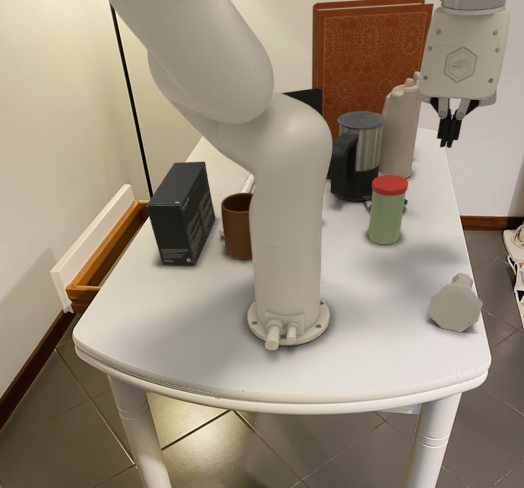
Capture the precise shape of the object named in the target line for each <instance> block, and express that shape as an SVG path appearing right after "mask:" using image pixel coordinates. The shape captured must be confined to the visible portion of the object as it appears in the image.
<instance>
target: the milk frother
mask: <svg viewBox="0 0 524 488" xmlns="http://www.w3.org/2000/svg"><path fill="white" fill-rule="evenodd" d="M385 121H386V119H385V117H384V116H383V115H381V114H378V113H373V112H368V111H366V112H365V111H357V112H350V113H346V114H343V115H341V116H340V117H339V118H338V122H339V137H338V138H337V139H336V140H335V142H334V144H333V146H332V156H331V160H330V176H329V179H330V180H329V182H330V183H329V187H330V188H329V189H330V194H331V195H333V196H337V197H339V198H340V199H344V200H347V201H352V202H353V201H354V202H355V201H356V202H357V201H359V202H360V201H361V202H362V201H368V202H371V203H372V193H373V189H372V182H373V180H374V179H375V178H377V177H378V172H379V162H380V153H381V144H382V135H383V126H384V123H385ZM408 202H409V200H408V199H406V198H405V201H404V206H406V205H408Z"/></svg>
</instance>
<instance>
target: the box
mask: <svg viewBox="0 0 524 488" xmlns="http://www.w3.org/2000/svg"><path fill="white" fill-rule="evenodd" d="M210 188H211V187H210V183H209V177H208V171H207V165H206V161H186V162H185V161H184V162H183V161H181V162H173V164H172V166H171V167H170V169H169V170H168V171H167V173H166V175H165V176H164V178H163V179H162V181H161V182H160V184H159V185H158V187H157V188H156V190H155V192H154V193H153V195H152V196H151V197H150V199H149V201H148V202H147V204H146V205H145V208H146V211H147V214H148V218H149V221H150V225H151V228H152V231H153V236H154V239H155V242H156V245H157V249H158V253H159V258H160V260H161V264H162V265H170V266H171V265H173V266H174V265H175V266H195V265H196V263H197V261H198V259H199V256H200V254H201V252H202V249H203V247H204V245H205V243H206V241H207V238H208V236H209V234H210V231H211V230H212V227H213V225H214V222H215V221H216V214H215V209H214V203H213V201H212V200H213V199H212V194H211V189H210Z"/></svg>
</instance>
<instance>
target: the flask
mask: <svg viewBox="0 0 524 488" xmlns="http://www.w3.org/2000/svg"><path fill="white" fill-rule="evenodd" d="M473 284H474V279H473V278H472V277H471V276H470V275H469V274H468V273H464V272H463V273H462V272H458V273H457V274H456V275H455V276H454V277H452V279H451V283H448V284H447V283H446V285H445V286H443V287H442V288H441V289H439V290H438V291H437V292H435V293H434V294H433V295H431V297H430V302H429V305H428V310H427V315H428V316H429V317H430V318H431V319H432V320H433V321H434V322H435V323H436V324H437V325H438V326H439V327H440V328H441V329H445V330H450V331H454V332H458V333H463V332H464V331H466V330H468V328H470V327H471V326H473V325H475V324H476V323H478V322H479V318H480V316H481V312H482V309H483V306H484V302H483V301H482V300H481V299H480V298H479V297H478V296H477V295H476V294H475V291H473V290H472V288H473Z"/></svg>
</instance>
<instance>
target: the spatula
mask: <svg viewBox="0 0 524 488" xmlns="http://www.w3.org/2000/svg"><path fill="white" fill-rule="evenodd" d="M254 184H255V179H254V176H253V175H252V174H251V173H250V175H249V176H248V178H247V180H246V181H245V183H244V185H243V187H242V188H241V190H240V192H239V193H251V189H252V187H253V185H254ZM218 230H219V231H218V232H219V234H220V235H221V236H222V237H224V231H223V224H222V225H221V226H220V228H219V229H218Z"/></svg>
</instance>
